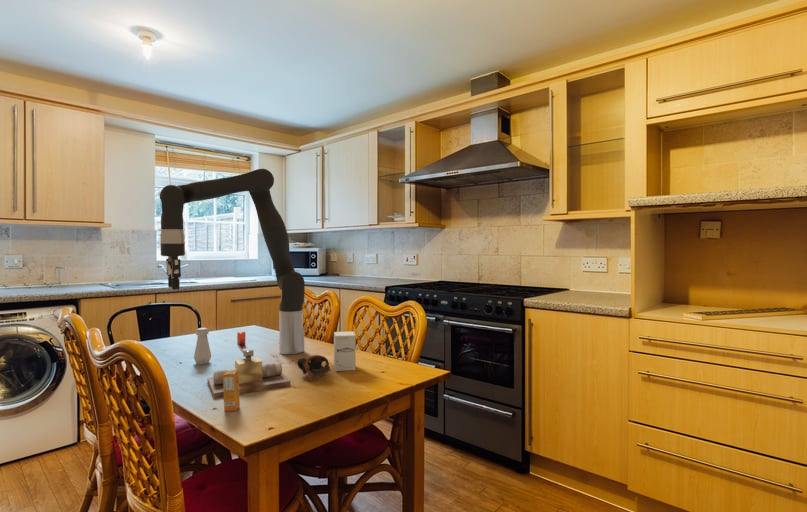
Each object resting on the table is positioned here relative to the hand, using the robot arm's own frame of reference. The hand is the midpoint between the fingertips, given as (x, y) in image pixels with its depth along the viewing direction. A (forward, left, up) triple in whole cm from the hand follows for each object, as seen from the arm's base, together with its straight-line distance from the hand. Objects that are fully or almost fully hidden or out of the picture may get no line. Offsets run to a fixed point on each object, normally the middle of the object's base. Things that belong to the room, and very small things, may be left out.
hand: (173, 288), depth 150 cm
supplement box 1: (-11, +50, -29) cm, 59 cm away
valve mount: (-19, +31, -28) cm, 46 cm away
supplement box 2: (-52, +30, -29) cm, 67 cm away
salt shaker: (-9, -2, -29) cm, 30 cm away
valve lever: (-19, +25, -19) cm, 37 cm away
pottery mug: (-39, +34, -29) cm, 60 cm away
